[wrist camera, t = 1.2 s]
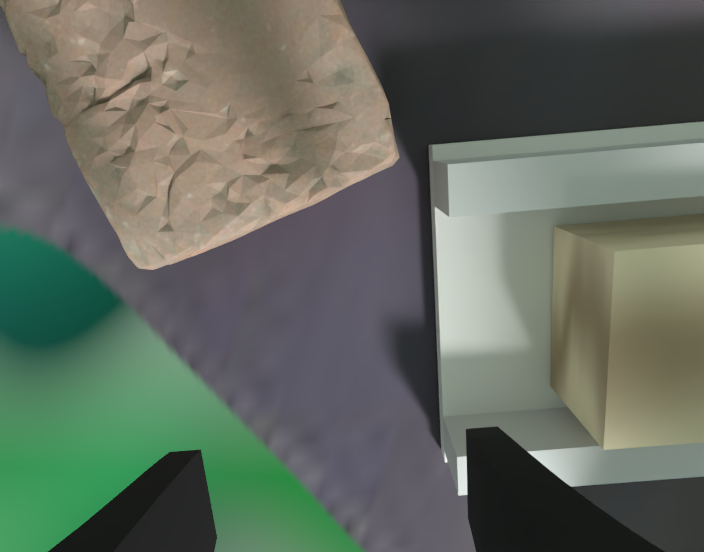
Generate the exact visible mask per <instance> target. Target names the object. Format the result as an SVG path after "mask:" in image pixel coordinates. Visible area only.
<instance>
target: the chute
mask: <svg viewBox="0 0 704 552" xmlns="http://www.w3.org/2000/svg"><path fill="white" fill-rule="evenodd" d="M429 169H430V193H431V217H432V241H433V265H434V289H435V313H436V337H437V361H438V385H439V409H440V433H441V451H442V454H443V458H444V461H445V462H448V464H449V467H450V470H451V474H452V477H453V480H454V483H455V486H456V490H457V493H458V495H468V494H467V456H466V429H470V428H483V427H496V426H498V427H499V428H500V429H501V430H503V431H504V432H505V433H506V434H507V435H508V436H510V437H511V438H512V439H513V440H514V441H515V442H517V443H518V444H519V445H520V446H521V447H522V448H524V449H525V450H526V451H527V452H528V453H530V454H531V455H532V456H533V457H534V458H536V459H537V460H538V461H539V462H540V463H542V464H543V465H544V466H545V467H546V468H548V469H549V470H550V471H551V472H553V473H554V474H555V475H556V476H558V477H559V478H560V479H561V480H563V481H564V482H565V483H566V484H568V485H569V486H570V487H574V486H587V485H600V484H613V483H626V482H639V481H652V480H665V479H678V478H691V477H704V442H701V443H688V444H675V445H663V446H650V447H637V448H624V449H611V450H603V449H602V448H601V446H600V445H599V444H598V443H597V442H596V440H595V439H594V438H593V437H592V436H591V434H590V433H589V432H588V431H587V430H586V428H585V427H584V426H583V425H582V423H581V422H580V421H579V420H578V419H577V417H576V416H575V415H574V414H573V413H572V411H571V410H570V409H569V408H568V407H567V405H566V404H565V403H564V402H563V400H562V399H561V398H560V397H559V396H558V394H557V393H556V392H555V391H554V390H553V388H552V387H551V386H550V379H551V335H552V291H553V247H554V226H561V225H573V224H585V223H597V222H609V221H621V220H633V219H645V218H657V217H669V216H680V215H692V214H704V121H702V122H690V123H678V124H667V125H655V126H643V127H632V128H620V129H608V130H597V131H585V132H573V133H562V134H550V135H538V136H527V137H515V138H504V139H492V140H480V141H469V142H457V143H445V144H434V145H429Z"/></svg>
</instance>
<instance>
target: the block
mask: <svg viewBox="0 0 704 552" xmlns="http://www.w3.org/2000/svg"><path fill="white" fill-rule="evenodd" d="M550 386H551V387H552V388H553V390H554V391H555V392H556V393H557V394H558V396H559V397H560V398H561V399H562V400H563V402H564V403H565V404H566V405H567V407H568V408H569V409H570V410H571V411H572V413H573V414H574V415H575V416H576V417H577V419H578V420H579V421H580V422H581V423H582V425H583V426H584V427H585V428H586V430H587V431H588V432H589V433H590V434H591V436H592V437H593V438H594V439H595V440H596V442H597V443H598V444H599V445H600V446H601V448H602V449H603V450H611V449H624V448H637V447H650V446H663V445H675V444H688V443H701V442H704V214H692V215H680V216H669V217H657V218H645V219H633V220H621V221H609V222H597V223H585V224H573V225H561V226H554V247H553V291H552V335H551V379H550Z"/></svg>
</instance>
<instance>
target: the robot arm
mask: <svg viewBox="0 0 704 552" xmlns="http://www.w3.org/2000/svg"><path fill="white" fill-rule="evenodd" d="M466 456H467V494H468V519H469V524H470V528H471V532H472V536H473V540H474V544H475V548H476V552H664V551H663V550H661V549H659V548H658V547H656V546H654V545H653V544H651V543H650V542H648V541H647V540H645V539H643V538H642V537H640V536H639V535H637V534H636V533H634V532H633V531H631V530H630V529H628V528H627V527H625V526H624V525H623V524H621V523H620V522H618V521H617V520H615V519H614V518H613V517H611V516H610V515H608V514H607V513H605V512H604V511H603V510H601V509H600V508H598V507H597V506H595V505H594V504H593V503H591V502H590V501H589V500H587V499H586V498H585V497H583V496H582V495H581V494H579V493H578V492H577V491H575V490H574V489H573V488H572V487H570V486H569V485H568V484H566V483H565V482H564V481H563V480H561V479H560V478H559V477H558V476H556V475H555V474H554V473H553V472H551V471H550V470H549V469H548V468H546V467H545V466H544V465H543V464H542V463H540V462H539V461H538V460H537V459H536V458H534V457H533V456H532V455H531V454H530V453H528V452H527V451H526V450H525V449H524V448H522V447H521V446H520V445H519V444H518V443H517V442H515V441H514V440H513V439H512V438H511V437H510V436H508V435H507V434H506V433H505V432H504V431H503V430H501V429H500V428H499V427H498V426H496V427H483V428H470V429H466ZM216 539H217V535H216V530H215V525H214V519H213V513H212V509H211V503H210V497H209V492H208V486H207V482H206V476H205V470H204V465H203V459H202V454H201V450H191V451H178V452H169V453H168V454H167V455H165V456H164V457H163V458H161V459H160V460H159V461H158V462H157V463H155V464H154V465H153V466H152V467H150V468H149V469H148V470H147V471H145V472H144V473H143V474H142V475H141V476H140V477H138V478H137V479H136V480H135V481H134V482H133V483H131V484H130V485H129V486H128V487H127V488H126V489H124V490H123V491H122V492H121V493H120V494H119V495H117V496H116V497H115V498H114V499H113V500H111V501H110V502H109V503H108V504H107V505H105V506H104V507H103V508H102V509H101V510H99V511H98V512H97V513H96V514H95V515H94V516H92V517H91V518H90V519H89V520H88V521H86V522H85V523H84V524H83V525H81V526H80V527H79V528H78V529H77V530H75V531H74V532H73V533H71V534H70V535H69V536H67V537H66V538H65V539H64V540H62V541H61V542H60V543H59V544H57V545H56V546H55V547H53V548H52V549H51V550H50V551H48V552H214V549H215V544H216Z"/></svg>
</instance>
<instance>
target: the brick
mask: <svg viewBox="0 0 704 552" xmlns="http://www.w3.org/2000/svg"><path fill="white" fill-rule="evenodd" d="M0 6H1V7H2V9H3V11H4V13H5V16H6V20H7V23H8V25H9V27H10V29H11V32H12V34H13V36H14V39H15V41H16V44H17V47H18V49H19V52H20V54H22V55H25V56H26V57H27V61H28V66H29V68H30V69H31V70H32V72H33V73H34V74H35V75H36V76H37V77H38V78H39V79H40V80H41V81H42V82H43V83H44V87H45V90H46V94H47V98H48V102H49V105H50V108H51V111H52V114H53V116H54V117H56V118H57V119H58V120H59V121H60V122H61V123H62V124H63V125H64V126H65V128H64V133H65V136H66V139H67V142H68V144H69V147H70V149H71V151H72V154H73V156H74V158H75V160H76V162H77V164H78V166H79V168H80V170H81V172H82V174H83V176H84V178H85V179H86V181H87V183H88V185H89V187H90V188H91V190H92V192H93V194H94V195H95V197H96V199H97V201H98V202H99V204H100V206H101V208H102V209H103V211H104V213H105V215H106V216H107V218H108V220H109V222H110V223H111V225H112V226H113V228H114V230H115V231H116V233H117V234H118V236H119V239H120V242H121V245H122V246H123V248H124V250H125V252H126V254H127V255H128V257H129V258H130V259H131V260H132V262H133V263H134V264H135V265H136V266H137V267H138V268H142V269H150V270H154V269H157V268H160V267H162V266H165V265H168V264H173V263H176V262H178V261H181V260H184V259H186V258H189V257H193V256H195V255H198V254H200V253H203V252H205V251H208V250H210V249H212V248H215V247H218V246H220V245H223V244H225V243H227V242H230V241H232V240H235V239H237V238H240V237H242V236H244V235H246V234H248V233H250V232H252V231H254V230H256V229H258V228H260V227H262V226H265V225H267V224H269V223H271V222H273V221H276V220H278V219H280V218H282V217H285V216H287V215H289V214H292V213H294V212H297V211H299V210H302V209H304V208H306V207H309V206H311V205H314V204H316V203H318V202H320V201H322V200H324V199H326V198H327V197H329V196H331V195H333V194H334V193H336V192H338V191H340V190H342V189H344V188H346V187H348V186H350V185H352V184H354V183H356V182H358V181H361V180H363V179H365V178H367V177H369V176H371V175H373V174H375V173H377V172H379V171H382V170H384V169H386V168H388V167H390V166H393V165H394V163H395V162H396V161H397V160H398V158H399V153H398V148H397V144H396V141H395V136H394V131H393V126H392V121H391V114H390V108H389V103H388V100H387V98H386V95H385V93H384V90H383V88H382V86H381V83H380V81H379V79H378V77H377V75H376V73H375V71H374V69H373V67H372V65H371V63H370V61H369V59H368V57H367V55H366V54H365V52H364V50H363V48H362V46H361V45H360V43H359V41H358V39H357V37H356V34H355V32H354V30H353V28H352V27H351V25H350V23H349V21H348V18H347V15H346V13H345V10H344V8H343V5H342V3H341V0H0Z"/></svg>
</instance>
